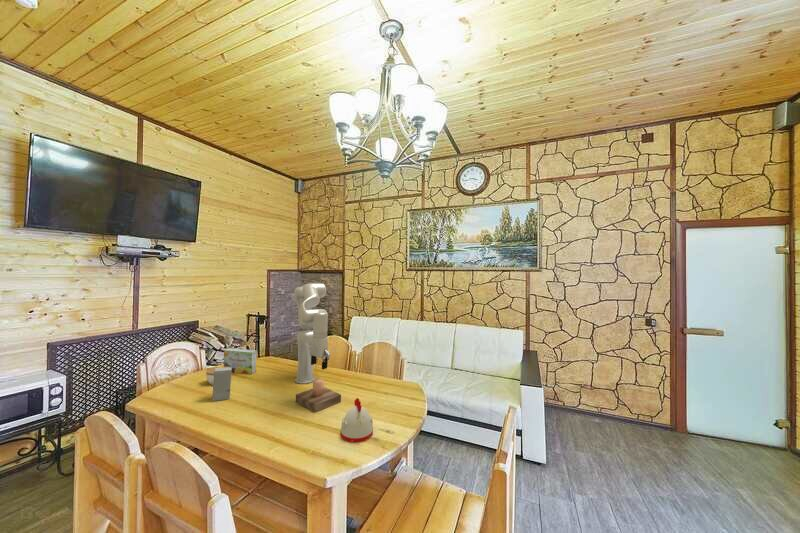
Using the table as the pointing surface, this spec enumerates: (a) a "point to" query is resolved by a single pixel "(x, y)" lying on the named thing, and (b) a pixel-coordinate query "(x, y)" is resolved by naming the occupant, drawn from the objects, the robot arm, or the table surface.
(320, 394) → the terracotta cylinder
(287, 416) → the table surface
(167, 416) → the table surface
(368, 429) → the kitchen timer
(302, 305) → the robot arm
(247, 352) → the snack box
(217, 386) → the skincare box
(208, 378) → the lidded jar
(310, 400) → the walnut platform
